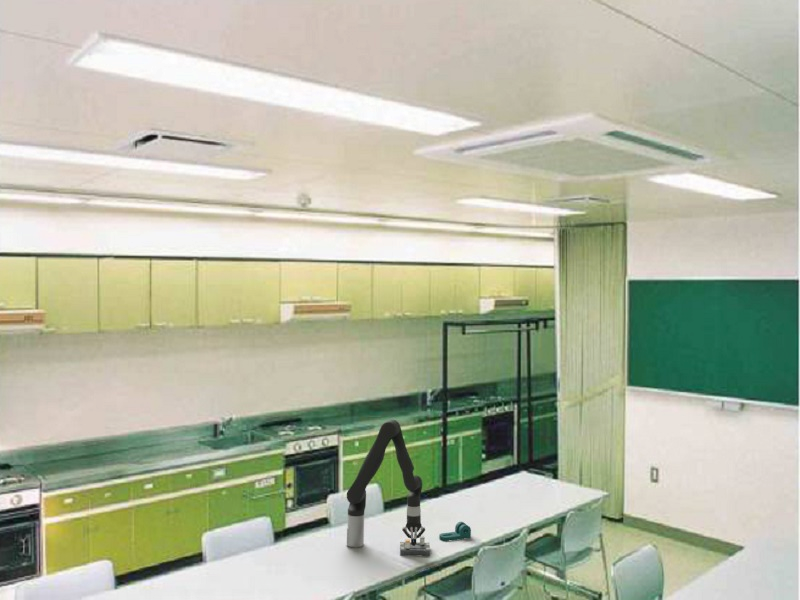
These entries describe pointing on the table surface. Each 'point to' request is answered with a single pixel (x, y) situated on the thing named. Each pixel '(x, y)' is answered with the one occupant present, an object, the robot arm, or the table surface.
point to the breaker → (422, 540)
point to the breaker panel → (415, 549)
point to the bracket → (457, 533)
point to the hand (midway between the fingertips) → (413, 545)
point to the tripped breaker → (407, 543)
